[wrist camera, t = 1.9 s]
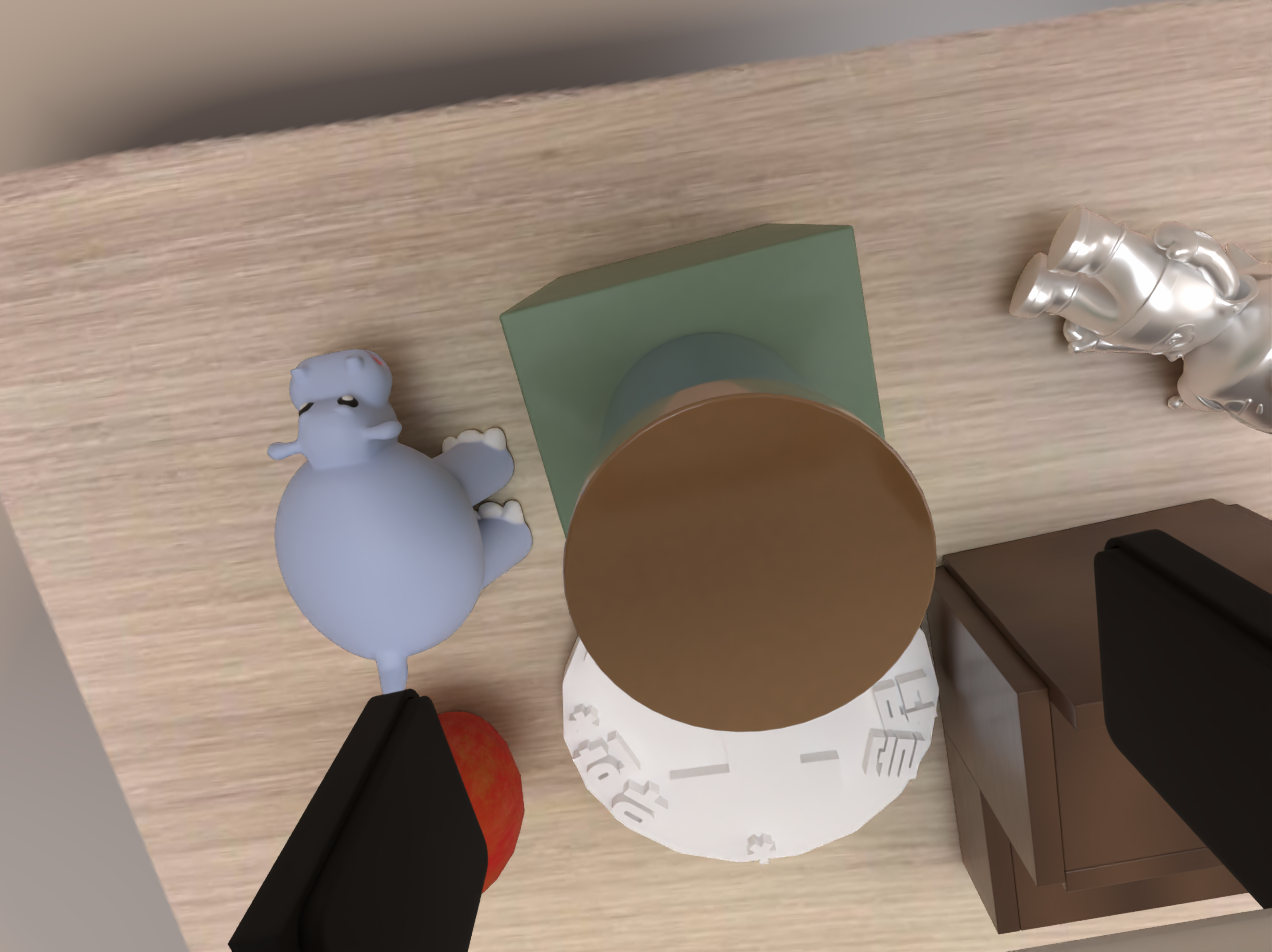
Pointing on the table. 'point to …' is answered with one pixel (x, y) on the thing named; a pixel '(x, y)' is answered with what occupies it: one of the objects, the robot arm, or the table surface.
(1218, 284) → the figurine
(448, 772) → the robot arm
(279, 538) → the hippopotamus toy
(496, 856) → the apple
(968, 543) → the table surface
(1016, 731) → the wooden storage crate
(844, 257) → the stand
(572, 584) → the jar
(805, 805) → the white round plaque
